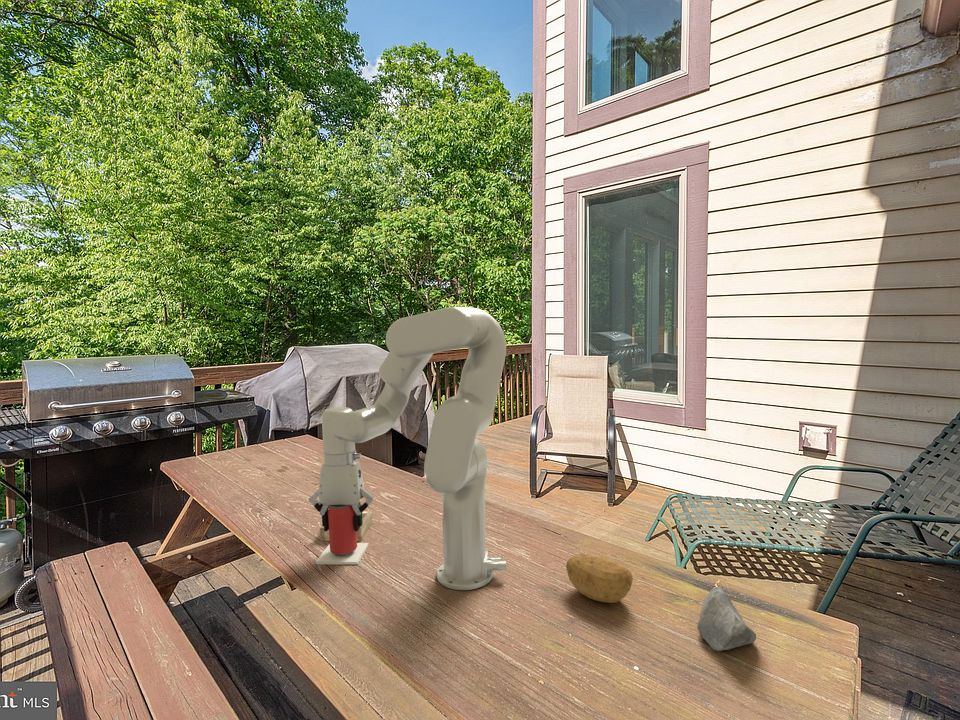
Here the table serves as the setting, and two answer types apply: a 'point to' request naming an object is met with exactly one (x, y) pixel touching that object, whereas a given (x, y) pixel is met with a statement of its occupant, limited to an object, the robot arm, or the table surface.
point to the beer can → (342, 529)
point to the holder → (360, 533)
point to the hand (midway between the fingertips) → (342, 528)
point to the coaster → (342, 556)
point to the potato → (599, 577)
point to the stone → (722, 623)
